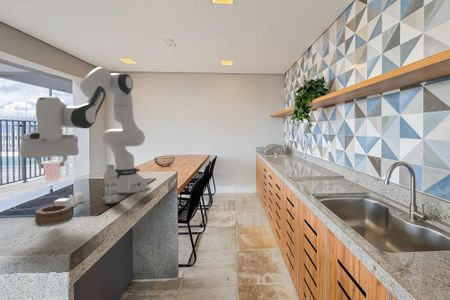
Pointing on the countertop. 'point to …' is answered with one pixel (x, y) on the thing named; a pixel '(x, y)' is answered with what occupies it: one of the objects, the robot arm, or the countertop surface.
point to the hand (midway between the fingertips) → (51, 167)
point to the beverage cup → (51, 171)
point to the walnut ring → (53, 213)
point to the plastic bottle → (110, 185)
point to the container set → (71, 200)
